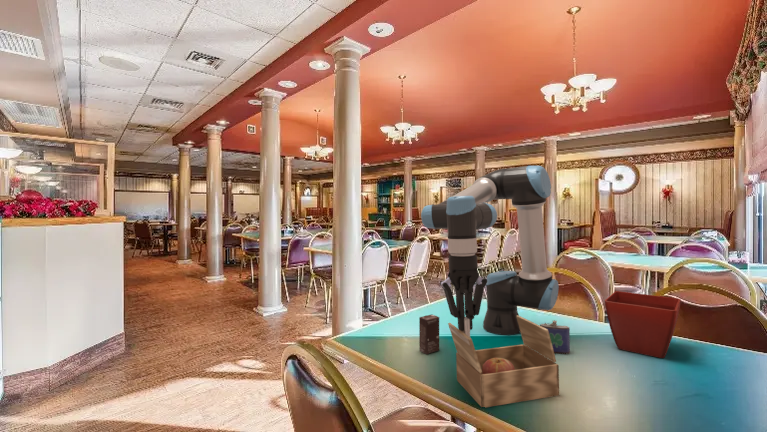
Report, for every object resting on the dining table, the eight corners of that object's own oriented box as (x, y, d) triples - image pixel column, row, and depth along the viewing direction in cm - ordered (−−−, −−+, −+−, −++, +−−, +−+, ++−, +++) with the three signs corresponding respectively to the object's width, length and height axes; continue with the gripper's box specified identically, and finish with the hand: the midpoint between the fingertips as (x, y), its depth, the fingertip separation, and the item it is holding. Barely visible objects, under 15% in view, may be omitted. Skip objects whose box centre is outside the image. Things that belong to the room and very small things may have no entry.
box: (427, 355, 122) (426, 319, 122) (419, 351, 126) (418, 316, 126) (440, 350, 125) (439, 316, 125) (432, 347, 129) (431, 313, 129)
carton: (524, 370, 108) (523, 344, 108) (559, 395, 94) (558, 364, 94) (456, 380, 104) (456, 352, 103) (482, 407, 89) (481, 375, 89)
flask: (569, 352, 121) (568, 320, 121) (570, 355, 118) (569, 323, 118) (539, 348, 125) (539, 318, 124) (540, 352, 122) (539, 320, 122)
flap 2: (554, 362, 94) (546, 330, 94) (523, 344, 107) (516, 315, 107) (556, 361, 94) (548, 329, 94) (525, 343, 107) (518, 315, 107)
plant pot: (681, 346, 123) (681, 297, 123) (677, 365, 109) (676, 310, 109) (616, 334, 136) (615, 290, 136) (604, 350, 122) (603, 300, 122)
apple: (512, 400, 92) (511, 369, 92) (478, 391, 97) (477, 362, 97) (519, 385, 100) (518, 356, 99) (487, 378, 104) (486, 351, 104)
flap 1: (459, 351, 103) (449, 322, 102) (482, 371, 90) (471, 338, 89) (456, 352, 103) (447, 323, 102) (479, 373, 90) (468, 339, 89)
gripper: (477, 251, 101) (480, 334, 101) (434, 254, 98) (438, 340, 98) (491, 254, 93) (494, 344, 94) (445, 257, 90) (449, 350, 91)
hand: (465, 342), depth 96 cm, fingers closed
